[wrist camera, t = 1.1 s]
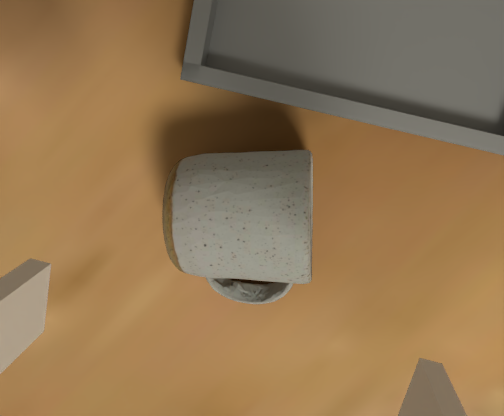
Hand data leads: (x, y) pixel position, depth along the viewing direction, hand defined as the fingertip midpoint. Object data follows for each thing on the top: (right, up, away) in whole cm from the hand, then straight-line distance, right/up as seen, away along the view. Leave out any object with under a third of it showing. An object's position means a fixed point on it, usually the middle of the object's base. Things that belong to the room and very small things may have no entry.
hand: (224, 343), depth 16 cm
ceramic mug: (+1, +4, +15) cm, 16 cm away
